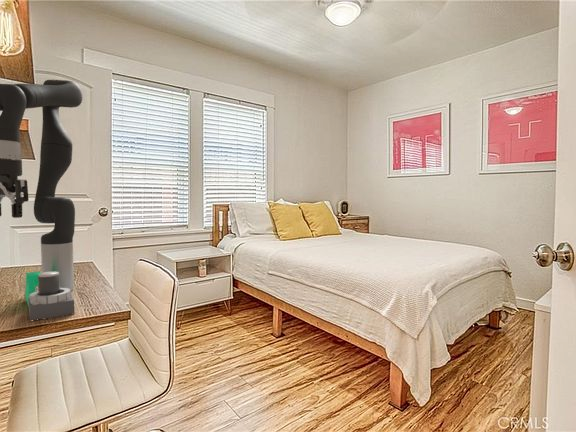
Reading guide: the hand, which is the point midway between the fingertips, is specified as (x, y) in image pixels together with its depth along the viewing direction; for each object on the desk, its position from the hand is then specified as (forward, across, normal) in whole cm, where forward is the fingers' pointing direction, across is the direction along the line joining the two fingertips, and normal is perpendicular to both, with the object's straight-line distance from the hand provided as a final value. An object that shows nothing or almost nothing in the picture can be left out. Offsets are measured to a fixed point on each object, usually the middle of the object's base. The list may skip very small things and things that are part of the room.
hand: (6, 217), depth 92 cm
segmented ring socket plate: (+28, +9, +5) cm, 30 cm away
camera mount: (+28, -2, +10) cm, 30 cm away
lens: (+24, +9, +5) cm, 26 cm away
